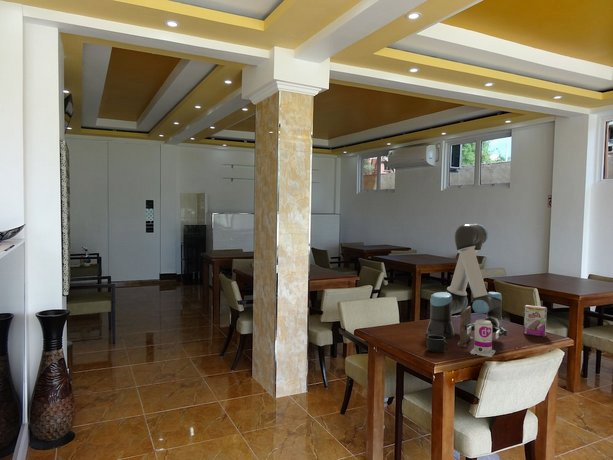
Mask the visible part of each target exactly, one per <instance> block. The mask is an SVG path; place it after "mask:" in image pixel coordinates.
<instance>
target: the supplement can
mask: <svg viewBox="0 0 613 460" xmlns="http://www.w3.org/2000/svg"><path fill="white" fill-rule="evenodd" d="M474 323H475V330H474V337H473V338H474V339H473V341H474V342H473V343H474V344H473V348H474V349H475V351H477V352H480V353H490V352H491V351H492V350H493V333H492V323H491V321H489V320H485V319H476V320H475V322H474Z"/></svg>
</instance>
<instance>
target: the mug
mask: <svg viewBox="0 0 613 460" xmlns="http://www.w3.org/2000/svg"><path fill="white" fill-rule="evenodd" d="M426 349H427V350H428V351H430V352H431V351H432V352H431V353H434V352H440V353H442V352H444V351H448V350H449V344H448V342H447V341H446V338H445V337H443V336H440V335H428V334H427V336H426Z"/></svg>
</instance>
